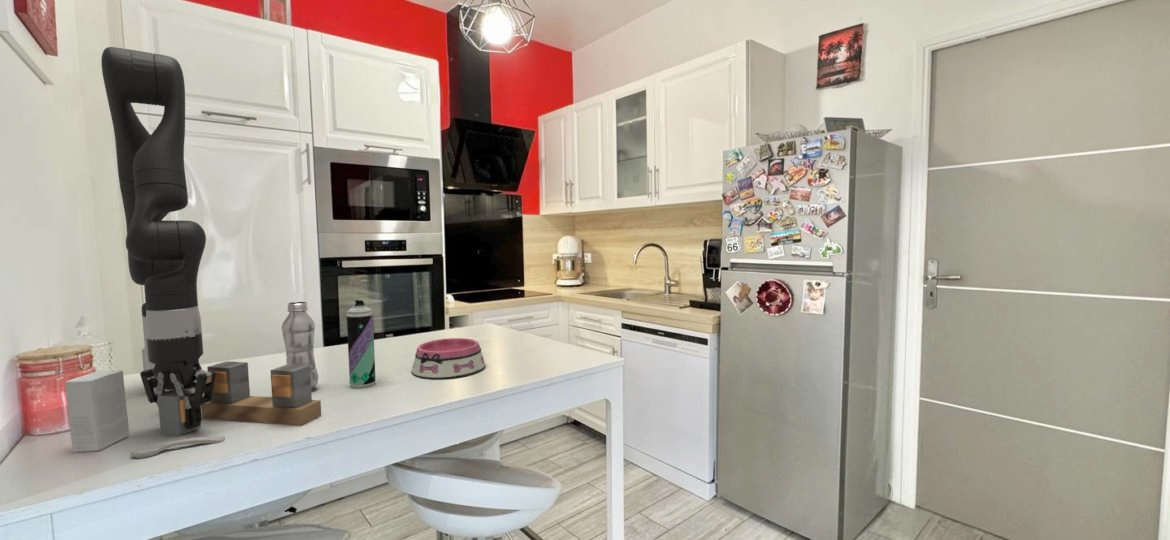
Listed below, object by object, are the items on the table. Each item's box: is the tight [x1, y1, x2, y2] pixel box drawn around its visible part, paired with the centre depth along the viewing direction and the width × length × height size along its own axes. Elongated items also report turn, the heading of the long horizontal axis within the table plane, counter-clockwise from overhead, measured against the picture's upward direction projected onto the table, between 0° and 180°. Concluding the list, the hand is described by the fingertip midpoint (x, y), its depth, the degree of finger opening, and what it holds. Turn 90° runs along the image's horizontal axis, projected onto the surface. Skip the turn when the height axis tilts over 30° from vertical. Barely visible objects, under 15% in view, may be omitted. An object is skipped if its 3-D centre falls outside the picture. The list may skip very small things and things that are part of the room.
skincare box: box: [64, 369, 130, 453], centre depth 81 cm, size 6×4×12 cm
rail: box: [201, 360, 322, 427], centre depth 93 cm, size 22×5×10 cm, turn 80°
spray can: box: [346, 299, 376, 389], centre depth 112 cm, size 6×6×20 cm
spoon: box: [130, 435, 225, 459], centre depth 80 cm, size 3×12×2 cm, turn 123°
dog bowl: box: [410, 337, 486, 381], centre depth 125 cm, size 18×19×7 cm
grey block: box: [157, 389, 202, 437], centre depth 87 cm, size 4×4×7 cm
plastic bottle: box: [281, 301, 319, 390], centre depth 108 cm, size 6×7×20 cm
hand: (182, 425), depth 87 cm, fingers closed on grey block, 4 cm apart
